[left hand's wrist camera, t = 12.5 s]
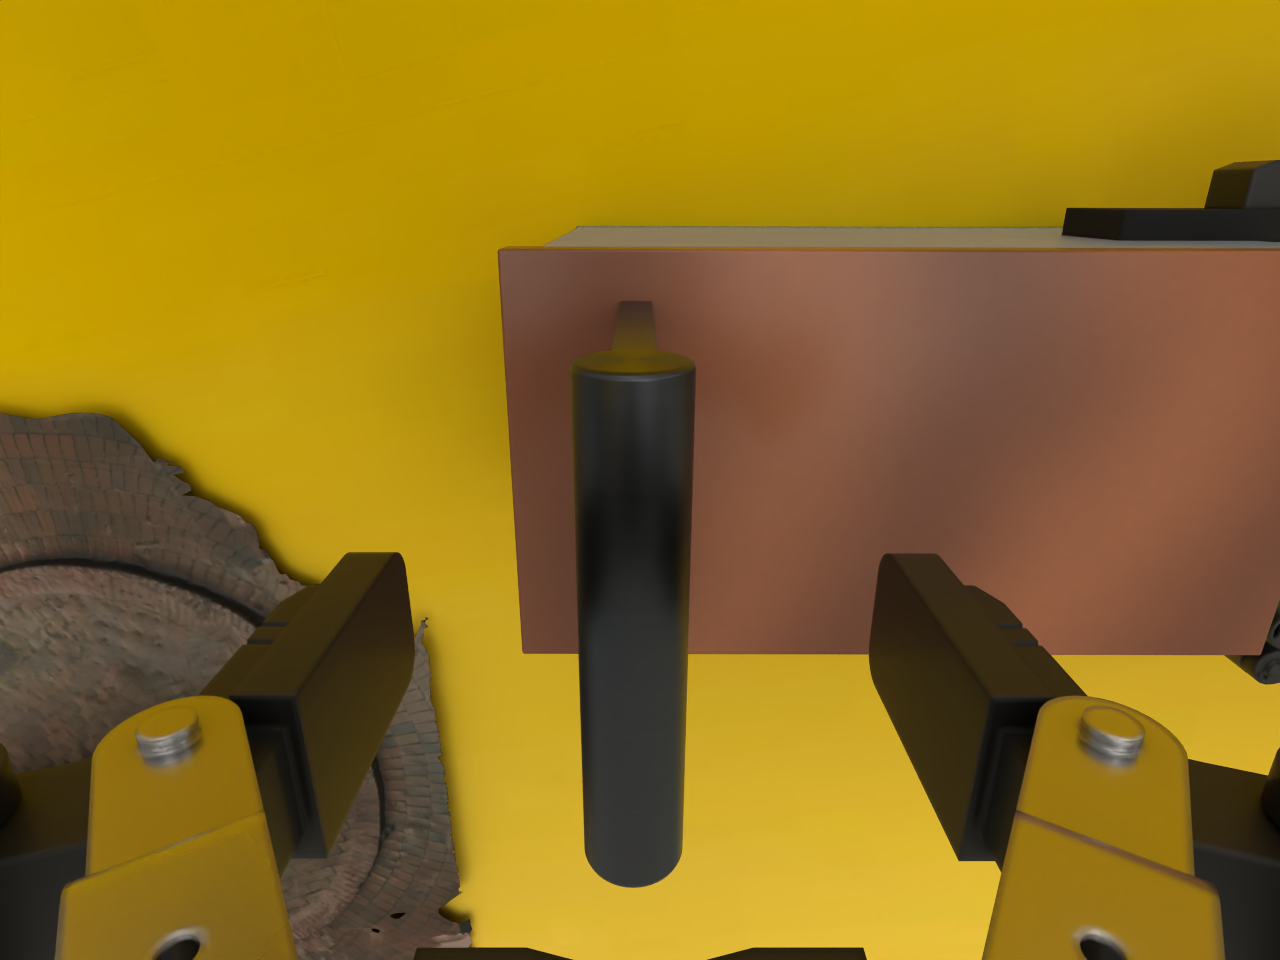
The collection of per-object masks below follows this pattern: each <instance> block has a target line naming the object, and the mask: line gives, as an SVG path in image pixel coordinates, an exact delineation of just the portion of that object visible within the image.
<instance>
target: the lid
mask: <svg viewBox="0 0 1280 960" xmlns="http://www.w3.org/2000/svg"><path fill="white" fill-rule="evenodd" d="M498 265H499V282H500V298H501V314H502V330H503V346H504V362H505V378H506V394H507V410H508V426H509V442H510V458H511V475H512V491H513V507H514V523H515V539H516V555H517V571H518V587H519V603H520V619H521V635H522V651H523V653H524V654H579V681H580V713H581V745H582V777H583V809H584V841H585V854H586V857H587V860H588V862H589V864H590V865H591V867H592V868H593V870H594V871H595V872H596V873H597V874H598V875H599V876H600V877H602V878H603V879H604V880H606V881H608V882H610V883H612V884H615V885H618V886H622V887H631V888H636V887H644V886H648V885H652V884H654V883H657V882H659V881H660V880H662V879H664V878H665V877H666V876H668V875H669V874H670V873H671V872H672V871H673V869H674V868H675V866H676V865H677V863H678V861H679V860H680V857H681V853H682V840H683V805H684V771H685V736H686V702H687V667H688V654H869V640H870V632H871V624H872V616H873V608H874V600H875V592H876V584H877V576H878V569H879V564H880V561H881V559H882V557H883V555H884V554H886V553H936V554H938V555H939V556H940V557H941V558H942V559H943V561H944V562H945V563H946V564H947V565H948V567H949V568H950V569H951V570H952V571H953V573H954V574H955V575H956V576H957V577H958V579H959V580H960V581H961V582H962V583H963V585H974V586H976V587H978V588H979V589H981V590H983V591H985V592H986V593H988V594H990V595H991V596H993V597H995V598H996V599H998V600H1000V601H1001V602H1003V603H1004V604H1005V605H1006V606H1007V607H1008V608H1009V609H1010V610H1011V611H1012V612H1013V614H1014V615H1015V616H1016V617H1017V618H1018V619H1019V620H1020V621H1021V622H1022V624H1023V628H1027V629H1028V630H1029V631H1030V633H1031V634H1032V635H1033V636H1034V637H1035V638H1036V639H1037V640H1038V645H1039V646H1043V647H1044V648H1045V649H1046V650H1047V652H1048V653H1049V654H1050V655H1260V654H1261V652H1262V649H1263V646H1264V643H1265V641H1266V638H1267V635H1268V632H1269V629H1270V626H1271V623H1272V620H1273V617H1274V615H1275V612H1276V609H1277V606H1278V603H1279V600H1280V248H942V247H513V246H507V247H504V248H501V249H499V250H498Z"/></svg>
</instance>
